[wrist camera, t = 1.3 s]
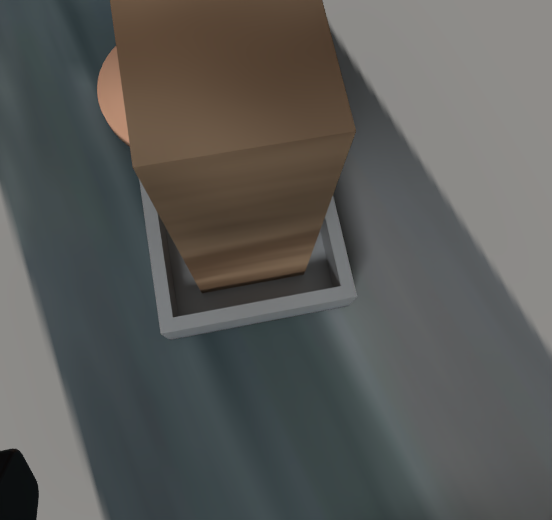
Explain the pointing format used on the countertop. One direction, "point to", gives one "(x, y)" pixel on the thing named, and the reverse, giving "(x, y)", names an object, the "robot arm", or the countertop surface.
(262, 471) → the countertop surface
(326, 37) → the walnut box
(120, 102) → the brown curved piece
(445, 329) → the countertop surface
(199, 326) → the gray tray
